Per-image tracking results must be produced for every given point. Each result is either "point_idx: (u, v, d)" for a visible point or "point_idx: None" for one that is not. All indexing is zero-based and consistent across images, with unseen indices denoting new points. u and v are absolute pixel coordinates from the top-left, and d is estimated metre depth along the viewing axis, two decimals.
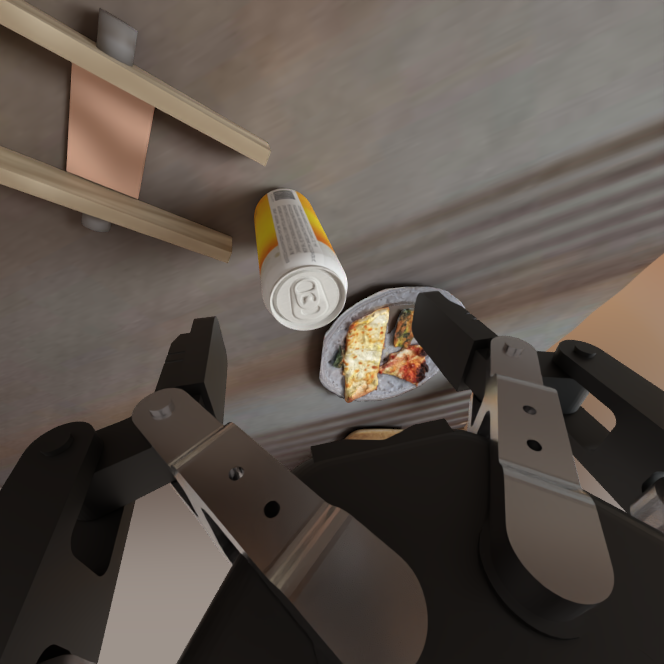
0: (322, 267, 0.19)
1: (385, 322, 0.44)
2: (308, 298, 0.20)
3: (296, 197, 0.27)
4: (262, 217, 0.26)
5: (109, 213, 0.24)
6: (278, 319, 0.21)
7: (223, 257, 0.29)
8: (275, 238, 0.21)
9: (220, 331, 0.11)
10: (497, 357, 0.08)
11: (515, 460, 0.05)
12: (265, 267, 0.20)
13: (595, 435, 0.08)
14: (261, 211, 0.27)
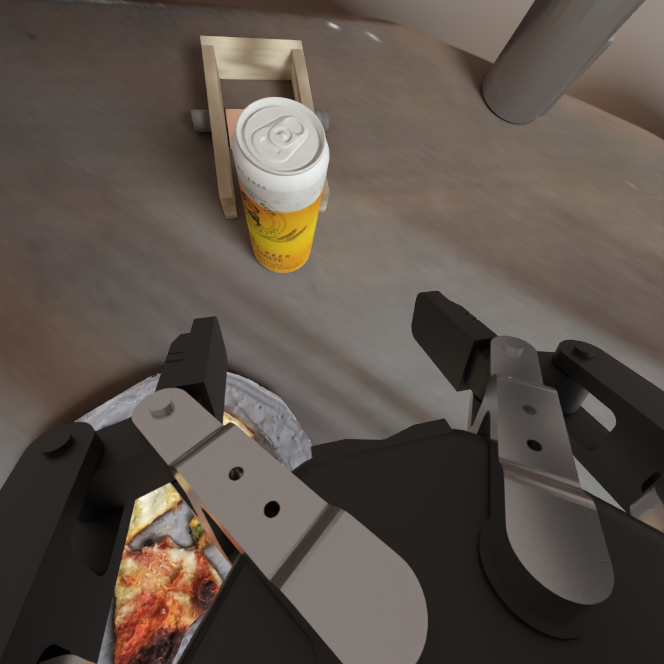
0: (323, 130, 0.18)
1: None
2: (284, 133, 0.18)
3: None
4: None
5: (216, 111, 0.30)
6: (241, 116, 0.18)
7: (223, 193, 0.29)
8: None
9: (220, 331, 0.11)
10: (497, 357, 0.08)
11: (515, 460, 0.05)
12: None
13: (595, 435, 0.08)
14: None
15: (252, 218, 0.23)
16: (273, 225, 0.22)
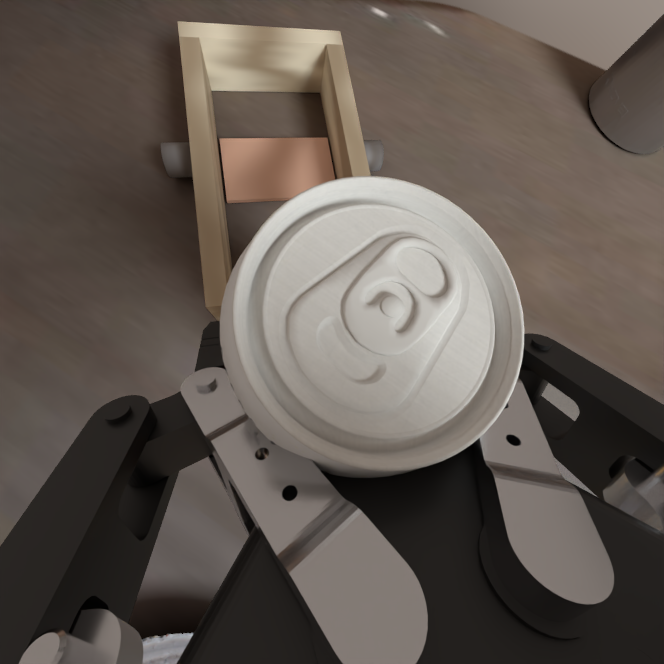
0: (508, 278, 0.06)
1: None
2: (397, 303, 0.05)
3: None
4: None
5: (203, 149, 0.18)
6: (253, 252, 0.05)
7: (212, 296, 0.16)
8: None
9: None
10: None
11: (500, 459, 0.05)
12: None
13: (558, 423, 0.09)
14: None
15: None
16: None
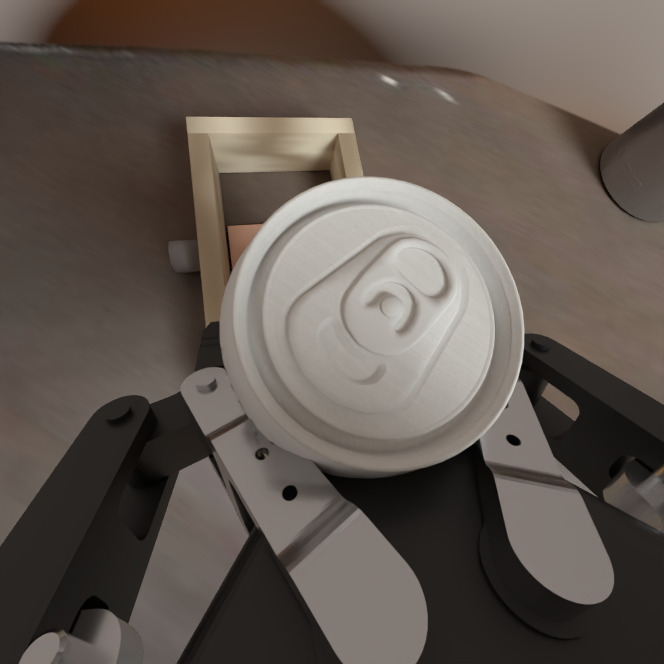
0: (508, 278, 0.06)
1: None
2: (397, 303, 0.05)
3: None
4: None
5: (212, 256, 0.17)
6: (252, 253, 0.05)
7: None
8: None
9: None
10: None
11: (500, 459, 0.05)
12: None
13: (558, 423, 0.09)
14: None
15: None
16: None
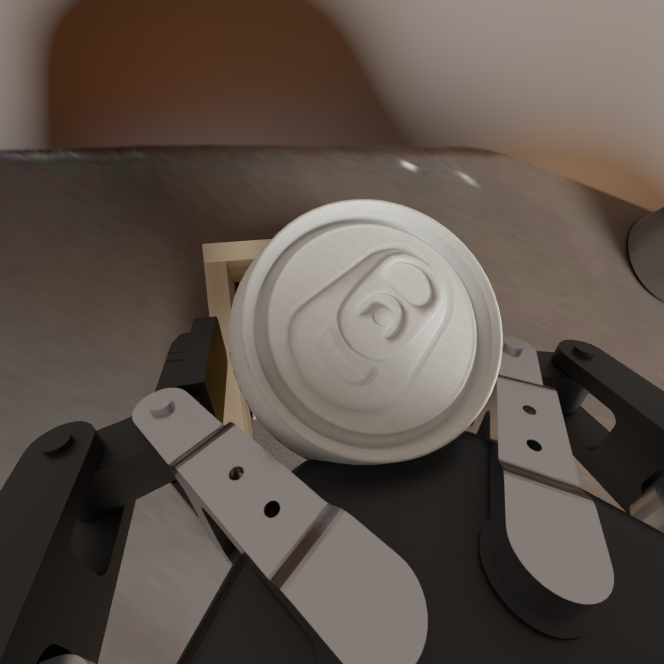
0: (488, 290, 0.06)
1: None
2: (387, 313, 0.06)
3: None
4: None
5: (232, 404, 0.16)
6: (259, 269, 0.06)
7: None
8: None
9: (220, 331, 0.11)
10: None
11: (515, 460, 0.05)
12: None
13: (595, 435, 0.08)
14: None
15: None
16: None
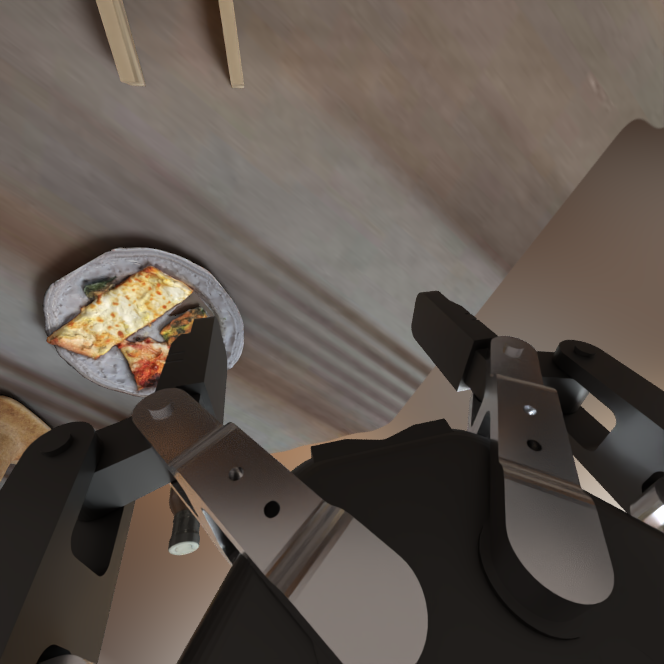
0: None
1: (177, 301, 0.42)
2: None
3: None
4: None
5: None
6: None
7: (123, 73, 0.27)
8: None
9: (220, 331, 0.11)
10: (497, 357, 0.08)
11: (515, 460, 0.05)
12: None
13: (595, 435, 0.08)
14: None
15: None
16: None
